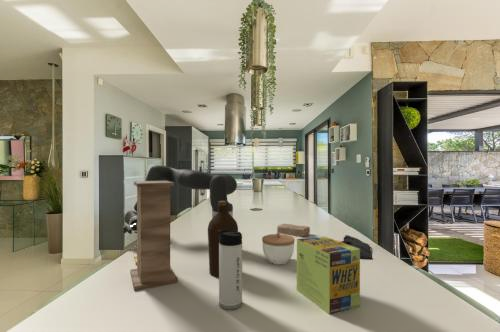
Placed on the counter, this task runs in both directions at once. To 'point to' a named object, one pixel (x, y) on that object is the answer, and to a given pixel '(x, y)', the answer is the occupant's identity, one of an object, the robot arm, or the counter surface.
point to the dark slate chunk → (359, 246)
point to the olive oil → (218, 235)
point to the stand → (153, 235)
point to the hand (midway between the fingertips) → (141, 230)
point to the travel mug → (230, 269)
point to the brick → (293, 230)
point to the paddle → (135, 258)
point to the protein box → (328, 273)
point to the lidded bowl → (278, 248)
